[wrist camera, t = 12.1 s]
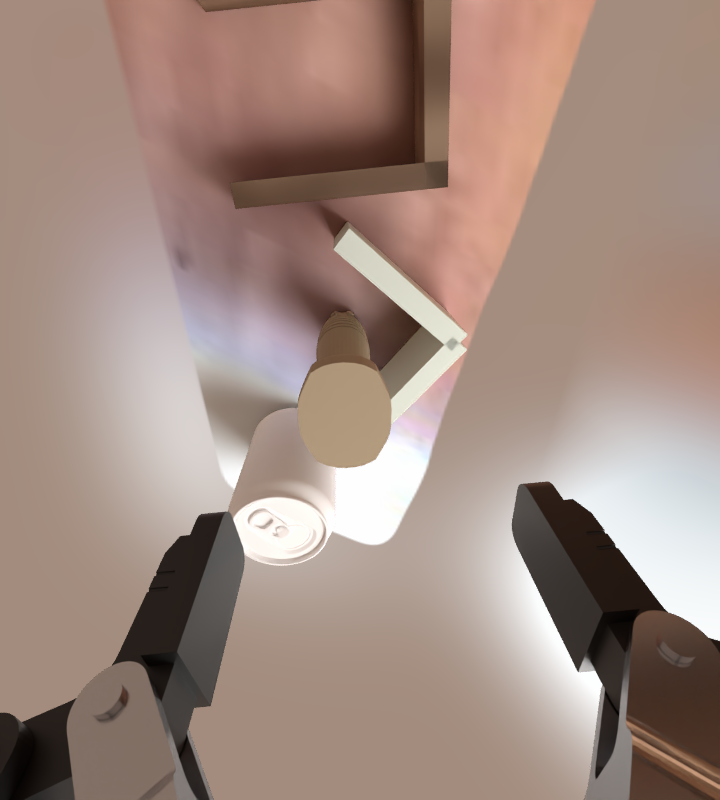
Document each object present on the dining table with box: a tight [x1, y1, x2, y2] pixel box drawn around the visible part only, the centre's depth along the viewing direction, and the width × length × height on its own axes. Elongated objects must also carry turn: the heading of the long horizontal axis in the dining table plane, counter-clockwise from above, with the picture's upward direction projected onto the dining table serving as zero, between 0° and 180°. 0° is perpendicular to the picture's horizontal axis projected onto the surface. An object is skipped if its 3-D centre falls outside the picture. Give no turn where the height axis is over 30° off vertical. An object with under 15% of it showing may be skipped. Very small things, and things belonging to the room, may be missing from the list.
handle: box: [298, 311, 392, 468], centre depth 26 cm, size 5×6×15 cm
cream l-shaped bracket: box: [333, 221, 468, 425], centre depth 30 cm, size 17×9×6 cm, turn 5°
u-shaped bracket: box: [197, 0, 451, 209], centre depth 24 cm, size 12×14×4 cm
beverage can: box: [228, 408, 336, 565], centre depth 33 cm, size 8×8×12 cm
